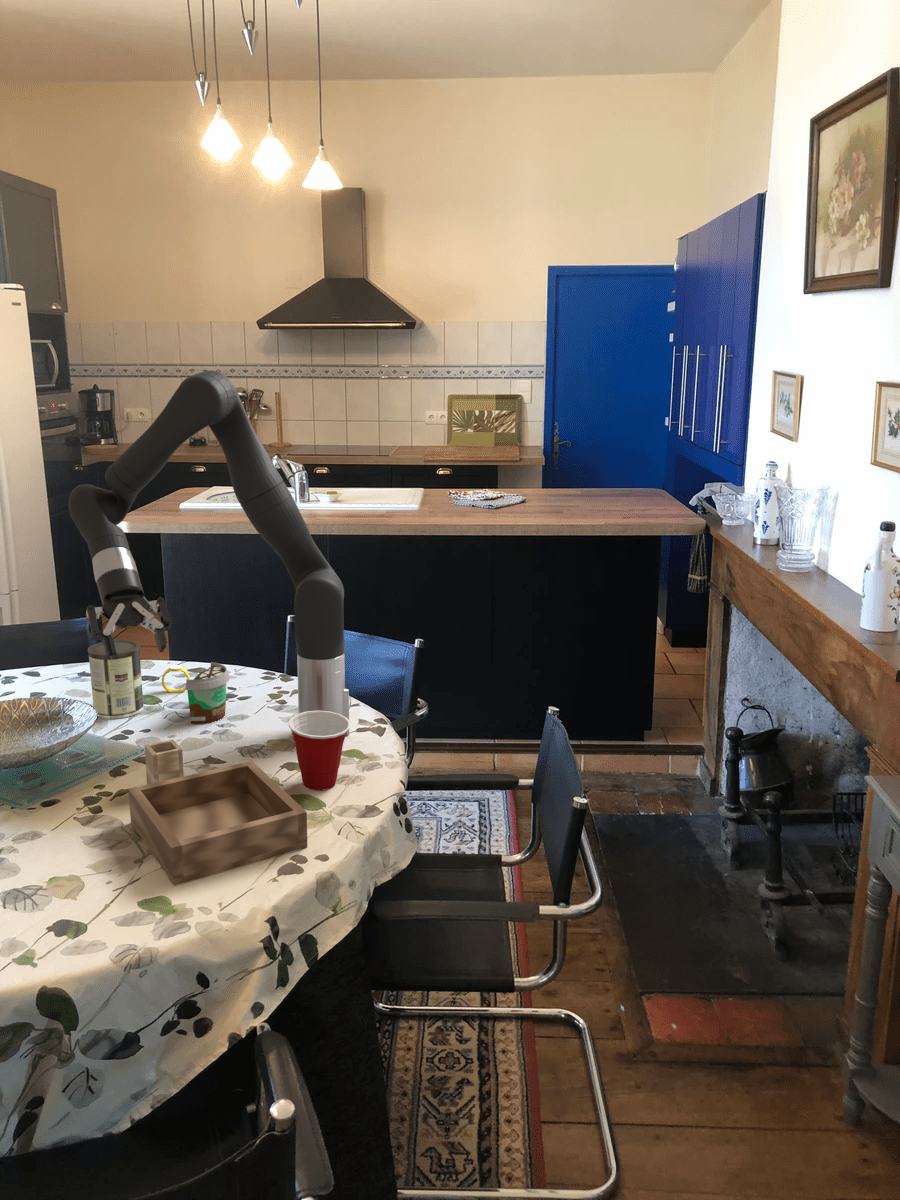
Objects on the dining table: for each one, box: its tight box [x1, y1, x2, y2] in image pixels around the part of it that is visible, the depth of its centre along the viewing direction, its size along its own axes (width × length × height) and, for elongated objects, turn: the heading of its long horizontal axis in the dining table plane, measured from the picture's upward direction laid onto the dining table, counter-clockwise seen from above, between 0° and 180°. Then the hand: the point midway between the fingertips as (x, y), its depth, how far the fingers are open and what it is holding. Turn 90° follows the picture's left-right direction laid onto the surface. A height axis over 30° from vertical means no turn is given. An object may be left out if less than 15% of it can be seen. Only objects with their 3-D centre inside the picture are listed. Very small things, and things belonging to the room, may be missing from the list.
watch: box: [161, 664, 191, 694], centre depth 213 cm, size 6×3×6 cm, turn 101°
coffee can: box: [87, 639, 145, 720], centre depth 200 cm, size 10×10×14 cm
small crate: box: [143, 739, 185, 785], centre depth 166 cm, size 5×5×8 cm
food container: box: [185, 661, 231, 725], centre depth 198 cm, size 12×6×10 cm, turn 168°
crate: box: [127, 760, 308, 886], centre depth 151 cm, size 21×22×6 cm
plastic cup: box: [288, 711, 352, 791], centre depth 168 cm, size 11×11×12 cm
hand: (138, 653), depth 170 cm, fingers open, 8 cm apart
